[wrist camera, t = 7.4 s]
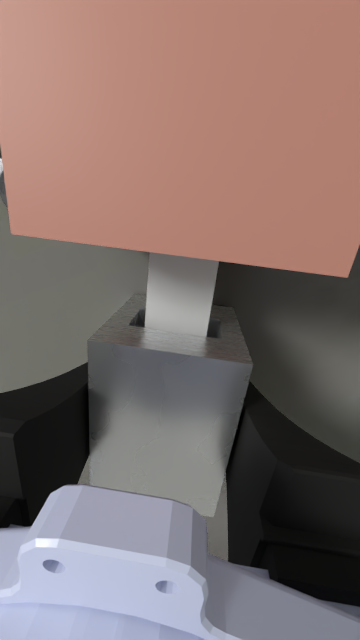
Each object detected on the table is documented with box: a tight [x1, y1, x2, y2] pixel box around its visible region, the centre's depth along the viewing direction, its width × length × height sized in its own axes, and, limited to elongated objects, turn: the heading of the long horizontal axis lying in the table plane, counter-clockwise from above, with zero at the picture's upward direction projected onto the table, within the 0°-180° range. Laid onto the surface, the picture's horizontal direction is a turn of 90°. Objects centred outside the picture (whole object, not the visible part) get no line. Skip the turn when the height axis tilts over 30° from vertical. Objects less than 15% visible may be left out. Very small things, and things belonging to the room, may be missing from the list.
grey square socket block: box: [88, 294, 253, 517], centre depth 11 cm, size 7×5×6 cm
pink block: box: [0, 0, 360, 337], centre depth 9 cm, size 10×7×7 cm
